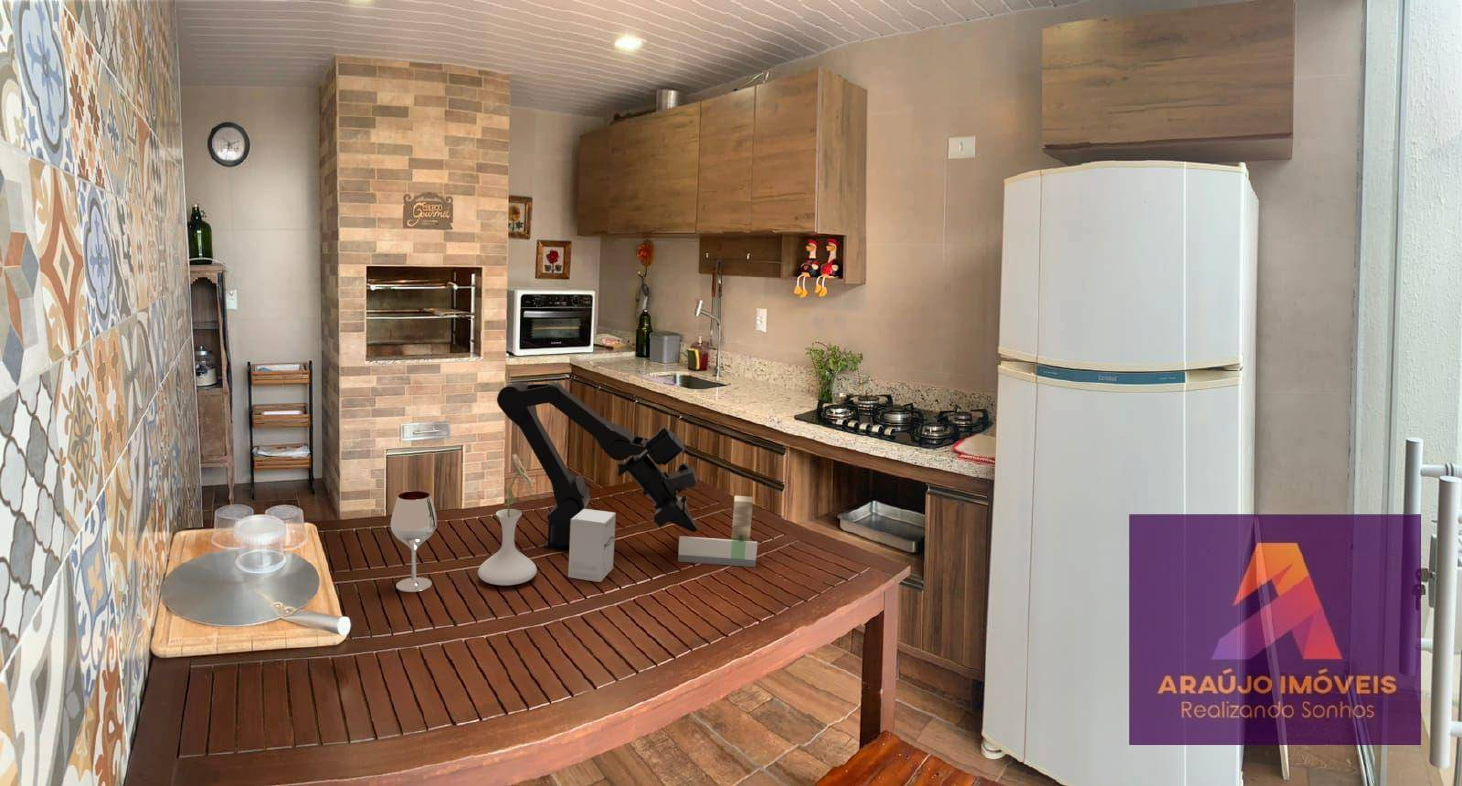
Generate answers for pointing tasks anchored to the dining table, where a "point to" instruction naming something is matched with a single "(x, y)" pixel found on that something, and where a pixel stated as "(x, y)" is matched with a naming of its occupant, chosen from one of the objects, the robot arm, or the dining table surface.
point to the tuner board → (717, 551)
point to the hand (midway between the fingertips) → (695, 530)
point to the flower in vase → (509, 546)
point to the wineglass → (413, 530)
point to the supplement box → (591, 545)
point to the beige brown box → (742, 518)
